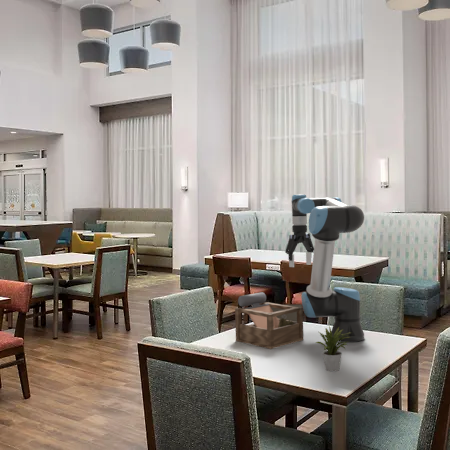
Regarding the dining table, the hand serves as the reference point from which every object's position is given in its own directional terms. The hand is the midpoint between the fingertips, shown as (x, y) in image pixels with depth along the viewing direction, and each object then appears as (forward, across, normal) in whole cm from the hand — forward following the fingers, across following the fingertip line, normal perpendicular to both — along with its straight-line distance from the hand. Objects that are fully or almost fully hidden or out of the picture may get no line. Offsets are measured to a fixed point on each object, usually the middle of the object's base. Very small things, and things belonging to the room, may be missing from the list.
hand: (300, 265), depth 288 cm
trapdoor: (+21, +35, +3) cm, 41 cm away
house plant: (+31, +53, +59) cm, 85 cm away
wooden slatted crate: (+31, +35, +10) cm, 48 cm away
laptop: (+31, +10, -3) cm, 33 cm away
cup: (+29, +33, +16) cm, 47 cm away
